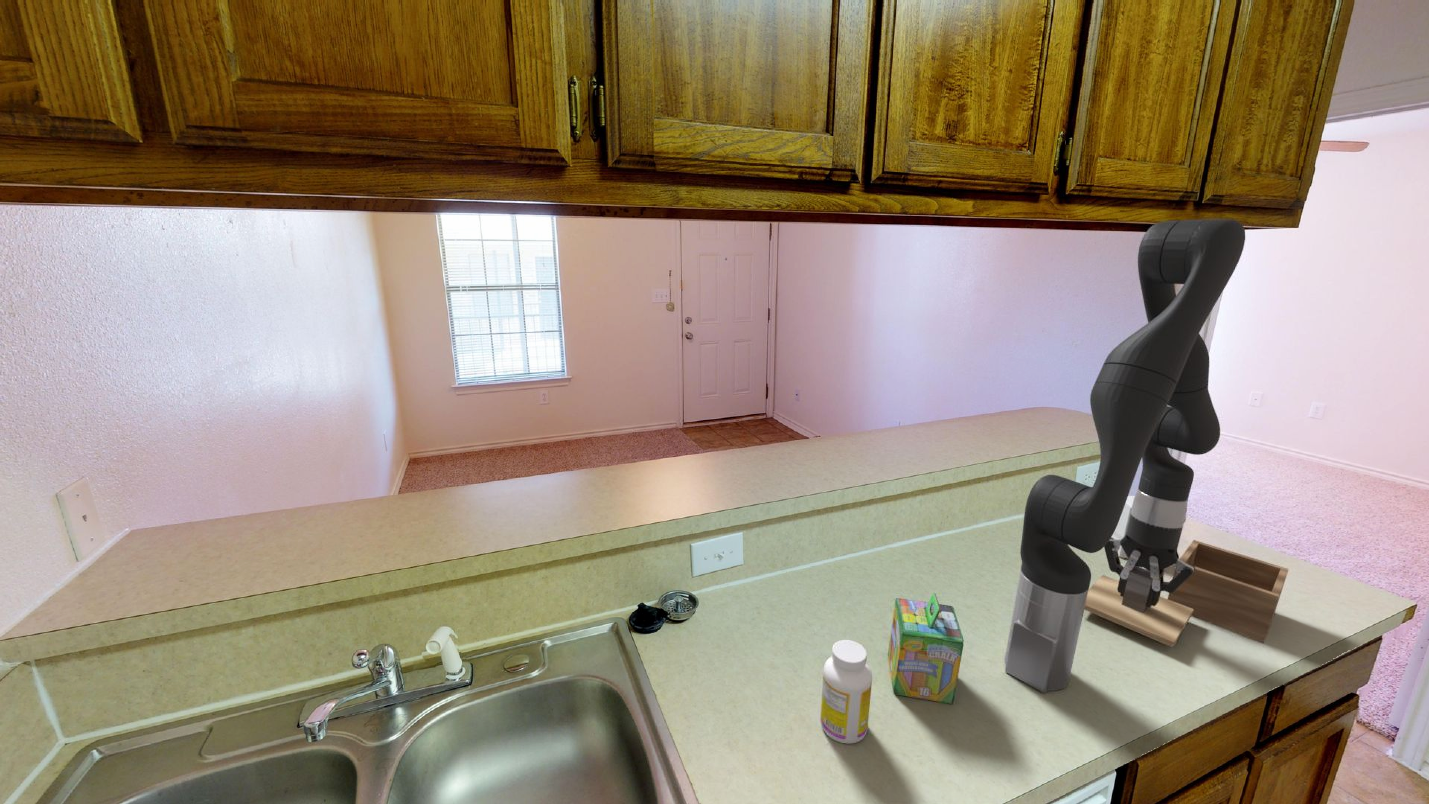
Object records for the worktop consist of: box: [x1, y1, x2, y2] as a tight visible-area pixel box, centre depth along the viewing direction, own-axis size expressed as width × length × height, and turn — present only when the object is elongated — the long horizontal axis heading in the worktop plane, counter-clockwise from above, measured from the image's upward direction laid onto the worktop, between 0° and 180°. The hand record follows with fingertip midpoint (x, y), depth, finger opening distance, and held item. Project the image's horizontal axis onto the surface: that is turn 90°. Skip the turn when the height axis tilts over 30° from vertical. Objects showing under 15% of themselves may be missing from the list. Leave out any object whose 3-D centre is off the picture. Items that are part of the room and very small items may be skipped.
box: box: [1167, 539, 1289, 644], centre depth 106 cm, size 14×14×10 cm
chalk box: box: [887, 592, 965, 705], centre depth 87 cm, size 9×9×15 cm
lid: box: [1084, 566, 1194, 648], centre depth 103 cm, size 15×15×8 cm
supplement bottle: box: [820, 639, 873, 744], centre depth 78 cm, size 7×7×13 cm
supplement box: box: [1111, 495, 1135, 559], centre depth 127 cm, size 7×7×13 cm
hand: (1136, 600), depth 103 cm, fingers closed on lid, 3 cm apart
